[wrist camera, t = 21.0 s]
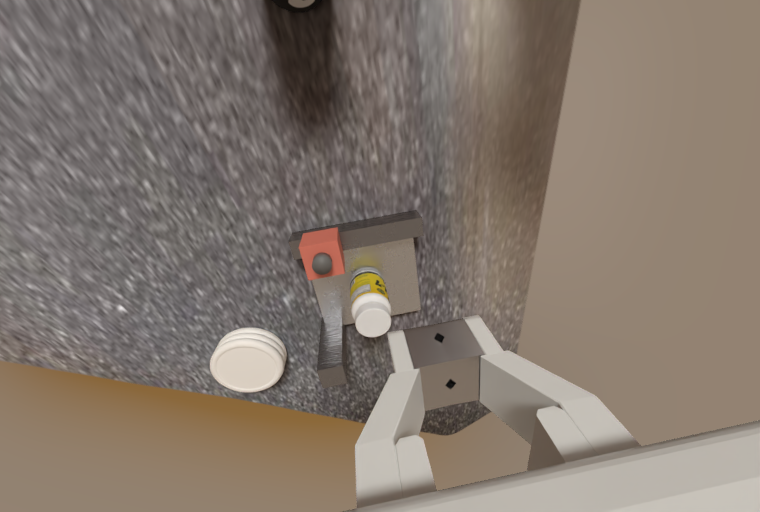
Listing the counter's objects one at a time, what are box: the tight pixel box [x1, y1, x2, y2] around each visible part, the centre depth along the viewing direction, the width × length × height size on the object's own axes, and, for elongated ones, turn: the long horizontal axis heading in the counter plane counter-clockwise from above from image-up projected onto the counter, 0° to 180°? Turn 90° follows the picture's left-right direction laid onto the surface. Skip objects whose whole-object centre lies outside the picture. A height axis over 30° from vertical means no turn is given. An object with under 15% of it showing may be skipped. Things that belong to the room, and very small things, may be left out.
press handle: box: [299, 227, 345, 280], centre depth 32 cm, size 4×4×5 cm
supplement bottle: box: [350, 270, 391, 337], centre depth 35 cm, size 5×5×8 cm
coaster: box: [210, 327, 287, 392], centre depth 42 cm, size 10×10×4 cm
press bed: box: [289, 210, 424, 388], centre depth 36 cm, size 16×17×10 cm
